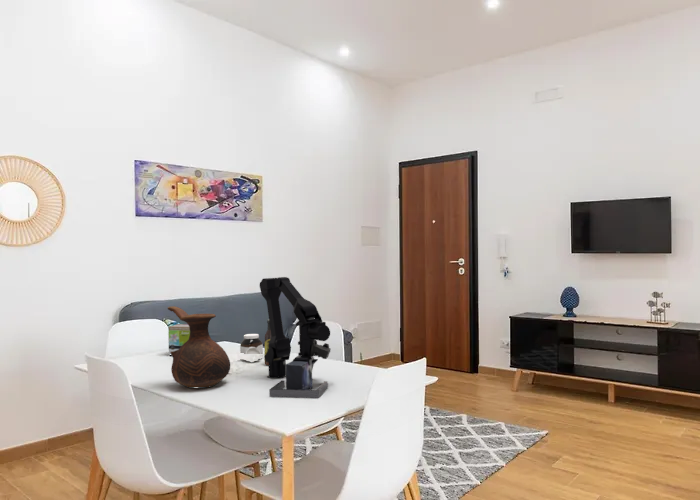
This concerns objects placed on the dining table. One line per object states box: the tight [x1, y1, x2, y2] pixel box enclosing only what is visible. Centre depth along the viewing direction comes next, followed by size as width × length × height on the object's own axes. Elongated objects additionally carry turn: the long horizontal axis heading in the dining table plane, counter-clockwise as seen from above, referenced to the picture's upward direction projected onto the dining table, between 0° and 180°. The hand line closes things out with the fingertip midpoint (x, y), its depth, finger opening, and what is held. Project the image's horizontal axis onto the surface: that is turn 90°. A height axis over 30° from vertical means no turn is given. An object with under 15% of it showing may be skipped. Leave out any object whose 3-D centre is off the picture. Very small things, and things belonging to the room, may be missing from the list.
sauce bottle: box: [263, 319, 271, 366], centre depth 243 cm, size 6×6×20 cm
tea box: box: [167, 323, 190, 355], centre depth 272 cm, size 15×10×15 cm, turn 81°
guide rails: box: [268, 379, 329, 399], centre depth 193 cm, size 17×13×2 cm
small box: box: [285, 360, 313, 390], centre depth 195 cm, size 11×6×10 cm, turn 164°
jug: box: [167, 305, 231, 388], centre depth 209 cm, size 22×22×30 cm
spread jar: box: [239, 333, 264, 355], centre depth 253 cm, size 12×11×12 cm
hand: (308, 380), depth 205 cm, fingers closed on small box
